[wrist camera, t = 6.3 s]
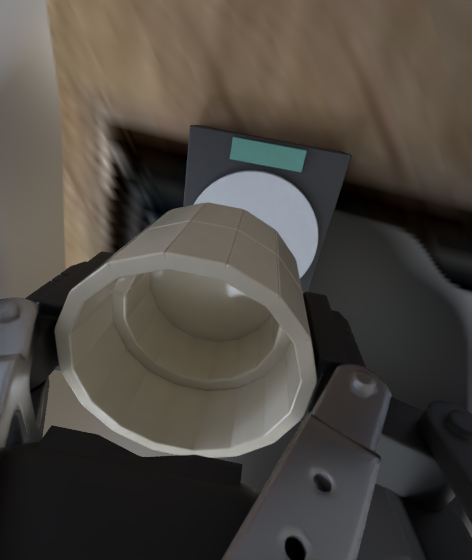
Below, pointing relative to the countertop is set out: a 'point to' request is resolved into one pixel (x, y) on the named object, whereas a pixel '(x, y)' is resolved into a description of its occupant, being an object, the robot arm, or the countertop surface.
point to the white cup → (192, 335)
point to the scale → (269, 185)
